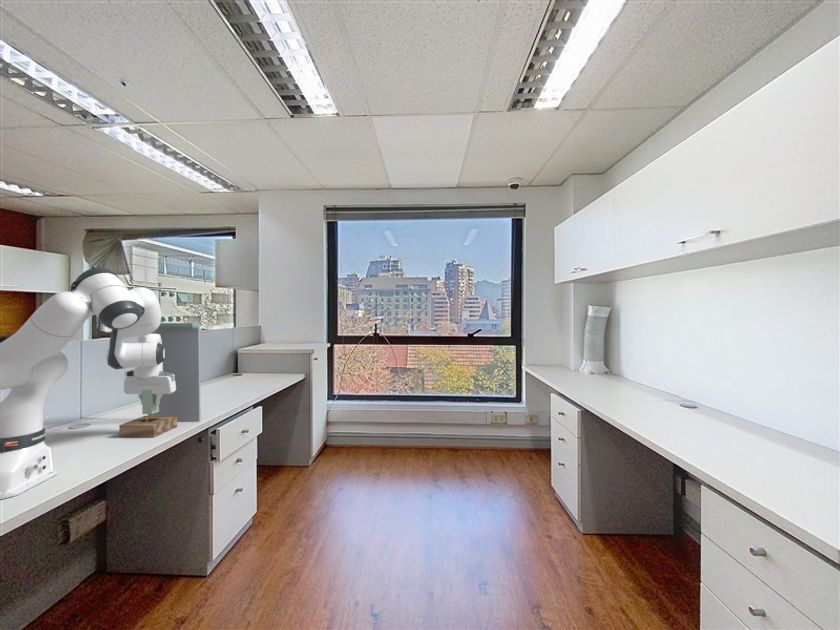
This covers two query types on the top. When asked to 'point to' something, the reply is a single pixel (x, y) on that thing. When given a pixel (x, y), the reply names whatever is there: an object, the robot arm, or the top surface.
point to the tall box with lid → (181, 370)
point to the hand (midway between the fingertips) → (150, 404)
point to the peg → (149, 402)
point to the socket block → (147, 426)
